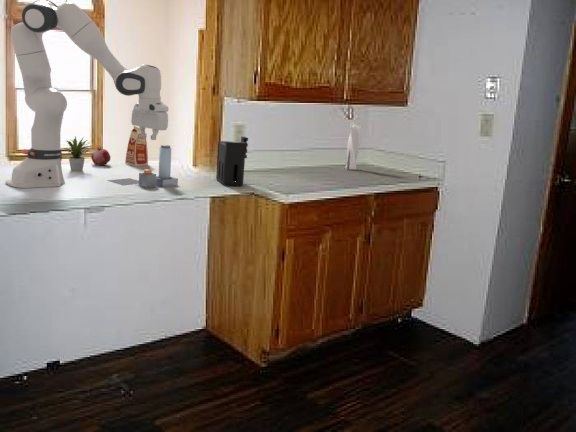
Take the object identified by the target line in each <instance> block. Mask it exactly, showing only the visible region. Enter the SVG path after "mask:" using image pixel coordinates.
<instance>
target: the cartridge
mask: <svg viewBox="0 0 576 432" xmlns="http://www.w3.org/2000/svg"><path fill="white" fill-rule="evenodd" d="M158 154H159V155H158V176H159V178H160V179H170V177H171V167H172V166H171V165H172V148H171V145H168V144H160V147H159V153H158Z"/></svg>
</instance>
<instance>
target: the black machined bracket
mask: <svg viewBox="0 0 576 432" xmlns="http://www.w3.org/2000/svg"><path fill="white" fill-rule="evenodd" d="M240 138H241V139H240V140H241V141H239V142H235V141H226V140H220V141H218V142H217V158H216V159H217V160H216V175H215V176H216V180H217V182H219V183H220V184H222V185H223V186H225V185H226V186H225V187H243V186H244V177H245V163H246V159H248V155H247V153H248V145H249V144H248V141H249V137H246V136H240ZM234 181H236V182H234Z"/></svg>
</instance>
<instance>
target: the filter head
mask: <svg viewBox="0 0 576 432" xmlns="http://www.w3.org/2000/svg"><path fill="white" fill-rule="evenodd" d="M138 181H139V184H135V186H136V187H141V188H145V189H147V190H153V189H162V188H171V187H172V188H173V187H179V178H177V177H173V176H170V179H160V178H159V175H157V174H156V173H154V172H152V174H144V172H138Z"/></svg>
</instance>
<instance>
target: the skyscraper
mask: <svg viewBox="0 0 576 432" xmlns="http://www.w3.org/2000/svg"><path fill="white" fill-rule="evenodd" d="M349 129H350V130H349V131H350V133H349V136H348V140H347V149H346V150H347V151H346V153H347V155H346V156H347V163H346V165H345V167H342V169H344V168H345V169H344V170H346V169H347V170H346V171H358V169H357V163H356V162H357V160H358V155H359V151H360V144H361V143H360V142H361V140H360V139H361V137H360V135H361V134H360V131H361V129H362V126H361V125H357V124H355V122H354V121H352V122H350V125H349Z"/></svg>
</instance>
